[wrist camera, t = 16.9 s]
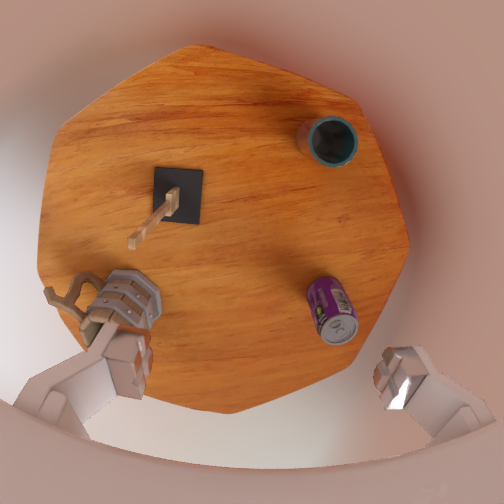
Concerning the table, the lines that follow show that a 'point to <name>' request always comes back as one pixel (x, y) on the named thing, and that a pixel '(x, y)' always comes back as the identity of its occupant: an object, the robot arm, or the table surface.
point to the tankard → (111, 302)
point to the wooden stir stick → (155, 218)
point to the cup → (327, 140)
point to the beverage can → (332, 311)
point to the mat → (187, 195)
